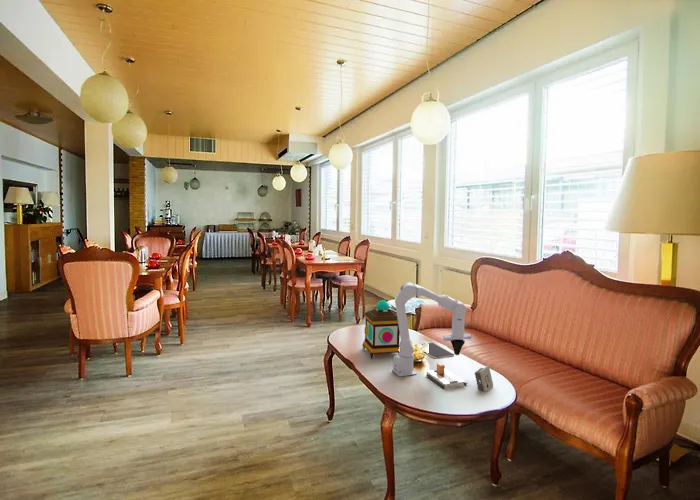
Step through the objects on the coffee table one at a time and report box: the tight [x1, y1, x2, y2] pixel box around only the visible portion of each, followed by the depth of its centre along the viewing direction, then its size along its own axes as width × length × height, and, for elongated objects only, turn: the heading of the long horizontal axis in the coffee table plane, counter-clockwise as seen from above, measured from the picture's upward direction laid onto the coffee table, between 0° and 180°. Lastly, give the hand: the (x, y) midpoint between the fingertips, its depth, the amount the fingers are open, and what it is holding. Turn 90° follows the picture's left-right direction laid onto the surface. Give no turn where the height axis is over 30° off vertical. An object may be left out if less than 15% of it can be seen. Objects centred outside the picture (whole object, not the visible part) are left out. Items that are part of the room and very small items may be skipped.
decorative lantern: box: [362, 299, 401, 360], centre depth 227 cm, size 20×20×30 cm
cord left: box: [425, 373, 445, 390], centre depth 190 cm, size 14×1×1 cm, turn 20°
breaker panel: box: [426, 368, 465, 390], centre depth 191 cm, size 10×16×3 cm, turn 20°
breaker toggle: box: [436, 362, 446, 374], centre depth 195 cm, size 2×3×4 cm
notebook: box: [421, 342, 455, 359], centre depth 233 cm, size 13×2×21 cm
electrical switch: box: [474, 365, 494, 393], centre depth 185 cm, size 9×5×9 cm, turn 141°
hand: (456, 354), depth 198 cm, fingers closed
